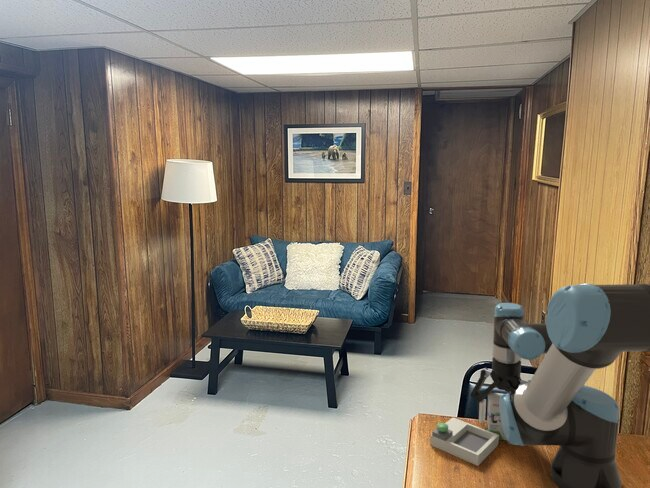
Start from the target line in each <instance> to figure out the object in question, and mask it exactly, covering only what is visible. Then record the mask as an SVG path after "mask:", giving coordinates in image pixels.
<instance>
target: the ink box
mask: <svg viewBox="0 0 650 488" xmlns="http://www.w3.org/2000/svg"><path fill="white" fill-rule="evenodd" d="M502 394H503V393H501V392H500V393H499V392H489V393H488V394H487V407H486V408H487V409H486V410H487V412H486V413H487V414H486V415H487V416H486V430H487V431H490V432H492V433H495V434H498V435H499V440H500V441H507V439H506V437H505V434H504V431H503V428H502V423H501V418H500V410H499V399H500V396H501V395H502Z"/></svg>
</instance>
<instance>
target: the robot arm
mask: <svg viewBox="0 0 650 488" xmlns="http://www.w3.org/2000/svg"><path fill="white" fill-rule="evenodd" d="M546 311H547V314H546V315H545V323H528V322H527V321H526V320H525V316H526V315H525V309H524V306H522V305H521V304H519V303H513V302H501V303H498V304H497V305H496V306H495V308H494V314H493V315H494V316H493V341H492V342H493V343H492V360H491V370H489V368H488V367H484V368H483V369H481V370H480V377H479V378H478V380H477V382H476V384H475V385H474V387H473V389H472V390H471V392H470V397H472V398H474V399H475V400H476V406H475V407H476V411H478V424H482V423H484V422H485V421H486V413H487V412H486V410H487V409H486V408H487V399H485V397H486V396H488V393H492V391H493V390H494V389H496V388H497V389H498V390H500V391H501V390H502V391H504V392H506V393H501V394H502V395H501V396H500V399H499V410H500V418H501V423H502V428H503V431H504V434H505V437H506V439H507V440H506V441H507V442H508V443H509V444H511V445H513V446H521V447H525V446H559V447H558V449H557V451H556V453H555V454H554V457H553V459H552V461H551V463H550V464H551V465H550V477H551V479H552V481H553V482H554V483H555V484H556V485H557V486H558V487H559V488H622V480H621V475H620V473H619V469H618V466H617V465H618V464H617V462H616V453H617V452H616V451H617V441H618V433H619V432H618V431H619V423H620V421H621V419H620V406H619V404H618V402H617V400H616V399H615V398H613V397H612V396H611V395H610V394H608V393H606V392H605V391H602V390H600V389H597V388H595V387H591V386H588V385H585V384H586V383H587V381H588V380H589V378H591V376H592V375H593V373H594V372H595V371H596V370H600V369H605V368H607V367H609V366H611V365H612V364H613V363H614V362H615V361H616V360H617V359H618V357H619V356H620V355H621V353H624V352H650V283H643V284H642V283H641V284H640V283H639V284H634V283H633V284H592V283H580V284H571V285H565V286H563V287H560V288H559V289H558V290H556V291H555V292H554V293H553V294H552V296H551V298H550V299H549V301H548V304H547V308H546ZM543 354H545V355H544V357H543V358H542V361H541V362H540V364H539V366H538V367H537V369H536V370H535V372H534V374H533V376H532V378H531V379H529V380H523V379H522V378H521V372H522V370H521V369H522V359H524V360H528V361H529V360H531V361H532V360H535V359H537V358H539V357H541V356H542V355H543ZM488 377H490V378H491V380H492V381H493V382H492V383H491V384H490V385H489V386H487V388H485V389H484V390H483V391H482V392H480V391H481V389H482V387H483V385H484V383H486V380H487V378H488Z"/></svg>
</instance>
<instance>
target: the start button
mask: <svg viewBox="0 0 650 488" xmlns="http://www.w3.org/2000/svg"><path fill="white" fill-rule="evenodd" d="M445 423H446V422H445ZM445 423H444V422H439V423H437V425H436V428H437V430H438V431H440V432H441V433H444V432H447V431H448V425H447V424H445Z"/></svg>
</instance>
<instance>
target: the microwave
mask: <svg viewBox="0 0 650 488" xmlns="http://www.w3.org/2000/svg"><path fill="white" fill-rule="evenodd" d="M445 424H447V425H448V431H447V432H444V433H441V432H440V431H438V430H437V427H436V428H435V429H434V430H432V432H431V434H430V442H429V443H430V446H432V447H435V448H437V449H439V450H441V451H443V452H445V453H448V454H450V455H452V456H455V457H457V458H459V459H462V460H463V461H465V462H468V463H471V464H473V465H475V466H477V467H478V466H479V465H480V464H482V462H483V461H484V460H486V458H487V457H488V456H489V455H490V454H491V453H492V452H493V451H494V450H495V449H496V448H497V447H498V446H499V435H498V434H495V433H492V432H490V431H487V429H484V428H482V427H479V426H477V425H473V424H471V423H469V422H466V421H463V420H461V419H459V418H455V417H451V418H450V419H449V420H448V421H446V422H445Z"/></svg>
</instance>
